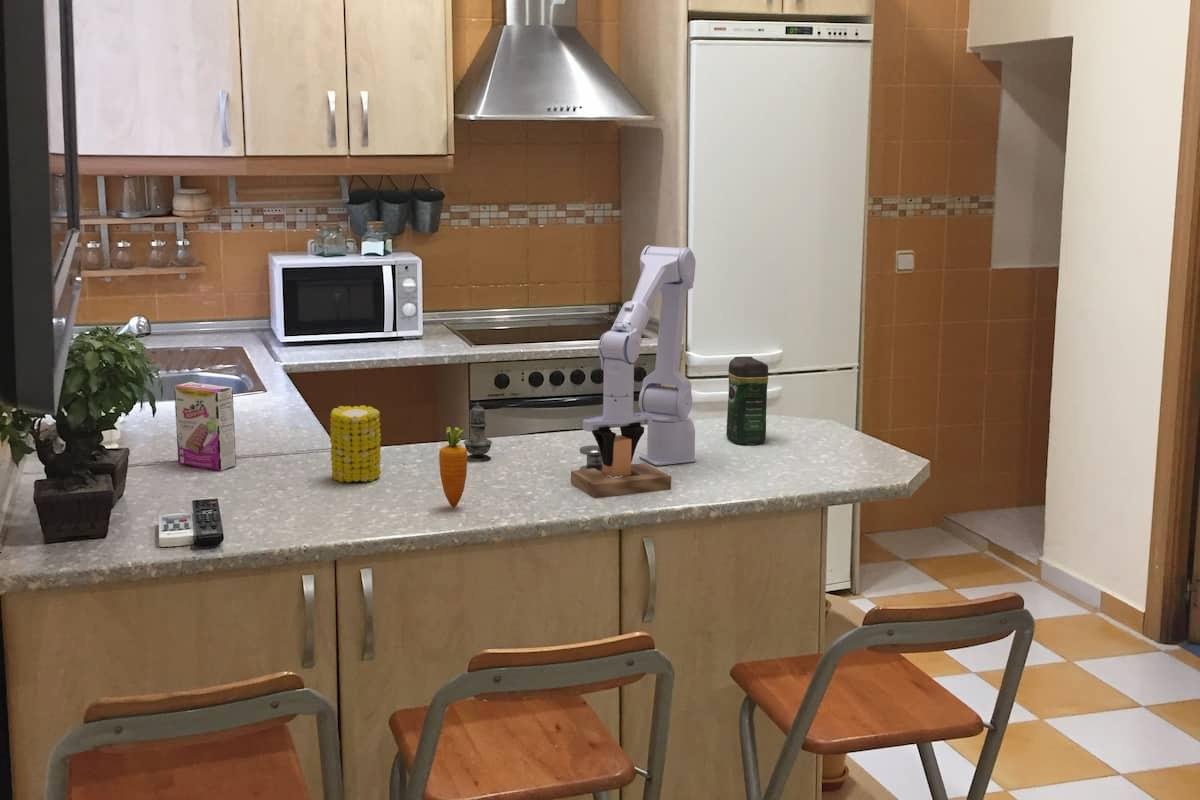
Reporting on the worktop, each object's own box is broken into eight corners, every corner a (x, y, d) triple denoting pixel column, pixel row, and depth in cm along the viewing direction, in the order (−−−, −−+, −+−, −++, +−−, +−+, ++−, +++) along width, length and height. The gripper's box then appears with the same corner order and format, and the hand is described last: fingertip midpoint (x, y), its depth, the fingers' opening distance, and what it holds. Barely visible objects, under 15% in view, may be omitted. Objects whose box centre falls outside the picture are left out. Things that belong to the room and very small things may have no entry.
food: (377, 478, 261) (377, 494, 251) (318, 467, 258) (316, 483, 249) (393, 406, 258) (394, 419, 248) (333, 394, 255) (332, 407, 245)
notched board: (645, 475, 260) (645, 462, 259) (671, 488, 250) (671, 476, 249) (570, 483, 253) (570, 470, 252) (594, 497, 243) (594, 484, 243)
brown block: (619, 470, 255) (620, 434, 254) (631, 474, 252) (631, 439, 250) (602, 472, 253) (602, 437, 252) (613, 477, 250) (614, 441, 248)
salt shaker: (487, 463, 268) (487, 405, 265) (460, 461, 269) (459, 404, 266) (495, 456, 273) (495, 399, 271) (468, 454, 274) (468, 398, 272)
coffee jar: (770, 444, 286) (773, 361, 282) (735, 446, 284) (738, 362, 280) (755, 435, 295) (758, 353, 291) (722, 436, 293) (724, 354, 290)
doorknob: (601, 466, 266) (602, 444, 265) (614, 473, 261) (614, 450, 260) (574, 469, 263) (574, 446, 263) (587, 476, 258) (587, 453, 257)
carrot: (440, 503, 238) (439, 423, 235) (467, 503, 239) (467, 423, 236) (439, 511, 233) (438, 429, 230) (467, 511, 234) (466, 429, 231)
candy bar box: (176, 465, 263) (172, 385, 260) (194, 460, 267) (189, 381, 264) (220, 472, 258) (216, 390, 255) (237, 466, 263) (233, 386, 259)
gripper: (638, 387, 256) (637, 454, 259) (574, 394, 249) (574, 463, 251) (659, 393, 250) (657, 462, 253) (594, 400, 243) (593, 471, 246)
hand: (617, 463), depth 252 cm, fingers closed on brown block, 4 cm apart
